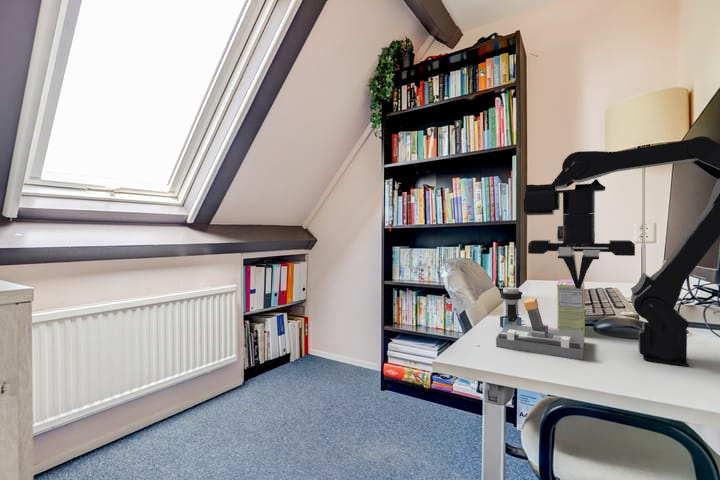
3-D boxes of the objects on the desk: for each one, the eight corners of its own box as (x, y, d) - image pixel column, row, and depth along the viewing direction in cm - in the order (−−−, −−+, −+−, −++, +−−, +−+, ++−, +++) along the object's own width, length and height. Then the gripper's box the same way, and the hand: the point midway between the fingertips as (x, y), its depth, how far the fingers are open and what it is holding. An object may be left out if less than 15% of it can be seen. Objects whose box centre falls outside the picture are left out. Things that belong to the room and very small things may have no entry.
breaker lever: (545, 330, 80) (536, 298, 81) (543, 334, 77) (533, 301, 77) (535, 331, 81) (526, 299, 82) (533, 335, 78) (524, 303, 78)
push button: (519, 323, 97) (519, 286, 96) (531, 329, 91) (531, 289, 91) (496, 325, 96) (495, 287, 95) (506, 330, 90) (506, 290, 90)
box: (558, 323, 96) (558, 278, 96) (584, 326, 93) (584, 280, 93) (556, 334, 87) (556, 284, 87) (584, 337, 84) (584, 286, 84)
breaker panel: (584, 342, 81) (584, 325, 80) (582, 360, 70) (582, 340, 70) (507, 332, 89) (507, 316, 89) (495, 347, 79) (495, 329, 79)
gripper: (630, 213, 78) (630, 285, 79) (534, 216, 88) (534, 280, 89) (635, 212, 69) (634, 294, 70) (527, 215, 79) (527, 287, 80)
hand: (578, 288), depth 77 cm, fingers closed
